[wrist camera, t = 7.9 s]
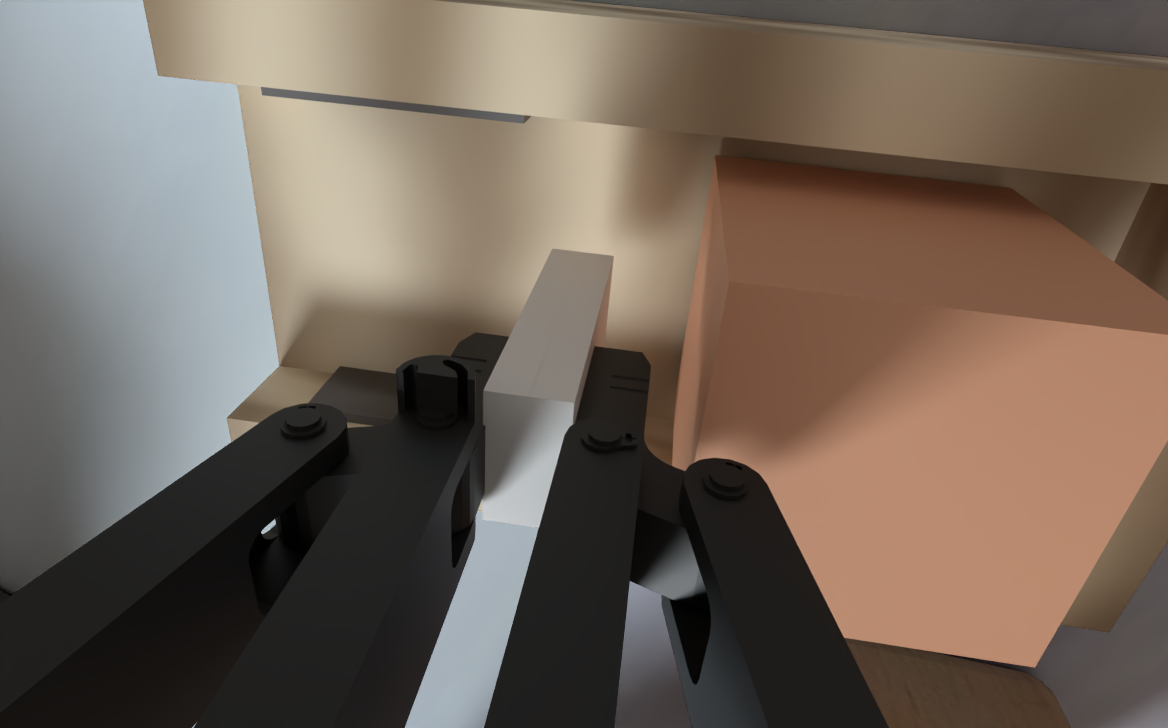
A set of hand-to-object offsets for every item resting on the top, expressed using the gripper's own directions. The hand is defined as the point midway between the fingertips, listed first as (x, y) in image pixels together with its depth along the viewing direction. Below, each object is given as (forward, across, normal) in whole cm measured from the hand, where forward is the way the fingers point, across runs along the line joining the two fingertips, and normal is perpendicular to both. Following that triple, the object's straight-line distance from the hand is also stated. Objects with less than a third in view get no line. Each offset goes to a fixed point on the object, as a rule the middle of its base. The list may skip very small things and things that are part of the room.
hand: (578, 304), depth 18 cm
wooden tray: (+4, +2, 0) cm, 4 cm away
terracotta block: (+2, +6, 0) cm, 7 cm away
